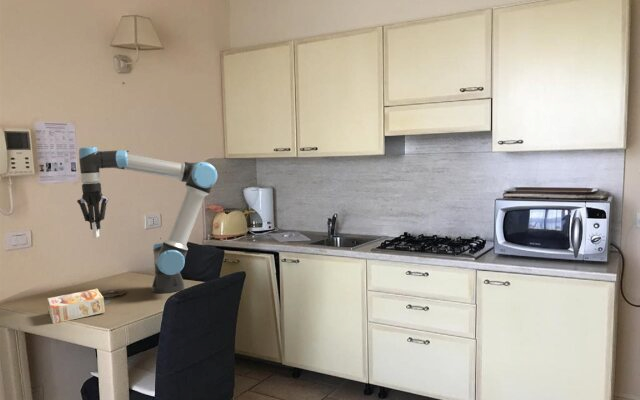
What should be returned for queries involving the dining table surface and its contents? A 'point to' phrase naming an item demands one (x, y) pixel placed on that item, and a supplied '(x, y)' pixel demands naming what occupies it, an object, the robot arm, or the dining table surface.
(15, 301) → the dining table surface
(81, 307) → the coffeecake box
